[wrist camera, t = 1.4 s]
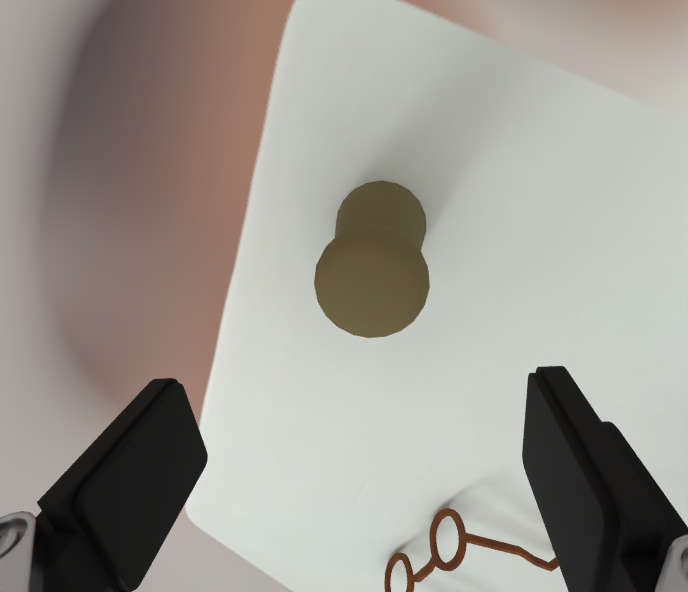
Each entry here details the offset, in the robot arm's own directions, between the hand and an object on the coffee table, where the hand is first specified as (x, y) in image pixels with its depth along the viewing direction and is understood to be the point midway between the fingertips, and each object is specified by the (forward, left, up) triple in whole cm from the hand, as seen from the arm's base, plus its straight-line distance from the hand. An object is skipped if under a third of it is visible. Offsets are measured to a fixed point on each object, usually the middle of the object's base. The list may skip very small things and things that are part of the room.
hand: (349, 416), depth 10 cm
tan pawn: (0, 0, -18) cm, 18 cm away
